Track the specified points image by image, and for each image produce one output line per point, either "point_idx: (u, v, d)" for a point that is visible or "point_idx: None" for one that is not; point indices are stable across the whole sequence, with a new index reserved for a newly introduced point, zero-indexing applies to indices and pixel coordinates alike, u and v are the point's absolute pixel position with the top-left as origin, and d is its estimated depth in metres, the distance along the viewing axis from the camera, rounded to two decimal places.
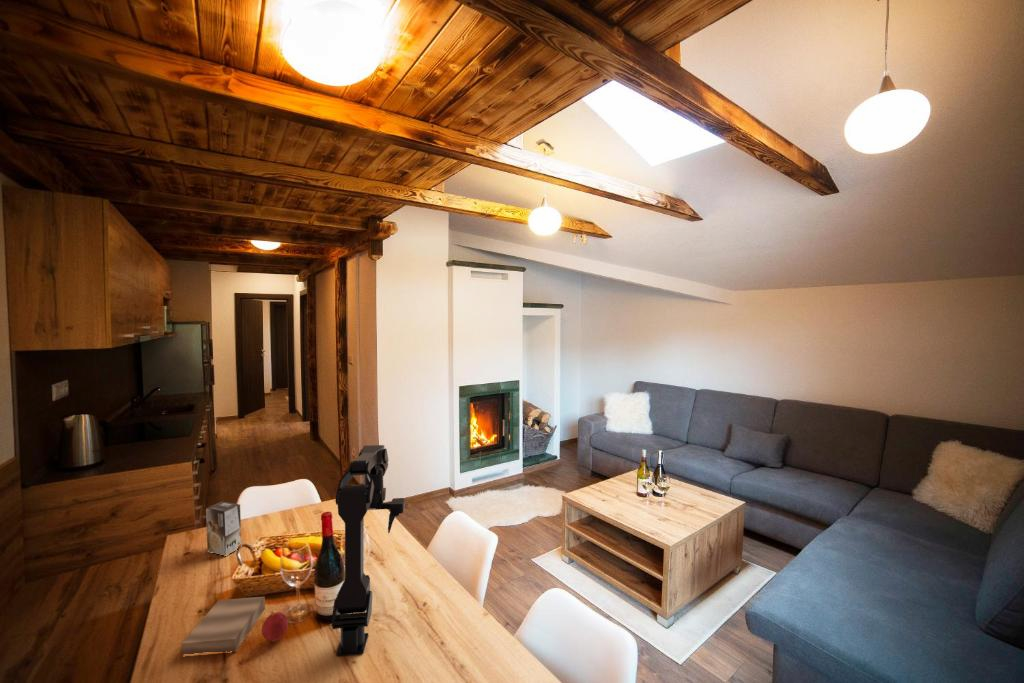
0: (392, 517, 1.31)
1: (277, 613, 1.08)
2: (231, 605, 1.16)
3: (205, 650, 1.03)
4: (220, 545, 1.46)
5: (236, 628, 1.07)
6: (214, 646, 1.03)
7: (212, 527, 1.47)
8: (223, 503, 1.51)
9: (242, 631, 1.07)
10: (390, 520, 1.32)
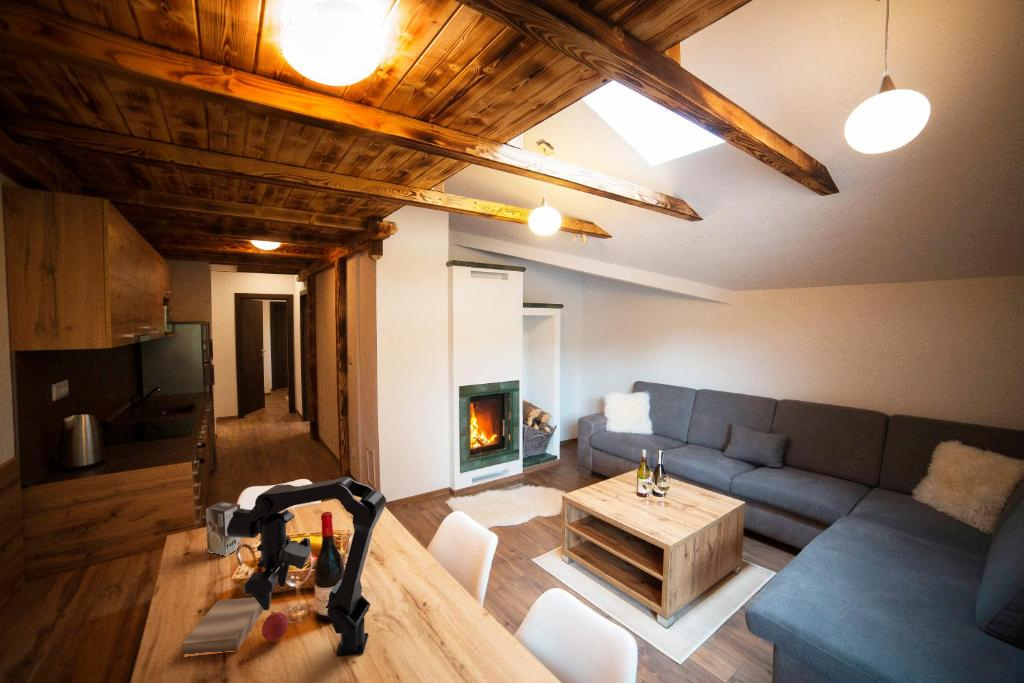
0: None
1: (277, 613, 1.08)
2: (231, 605, 1.16)
3: (206, 650, 1.03)
4: (220, 545, 1.46)
5: (237, 627, 1.07)
6: (215, 645, 1.03)
7: (212, 527, 1.47)
8: (223, 503, 1.51)
9: (243, 630, 1.07)
10: None
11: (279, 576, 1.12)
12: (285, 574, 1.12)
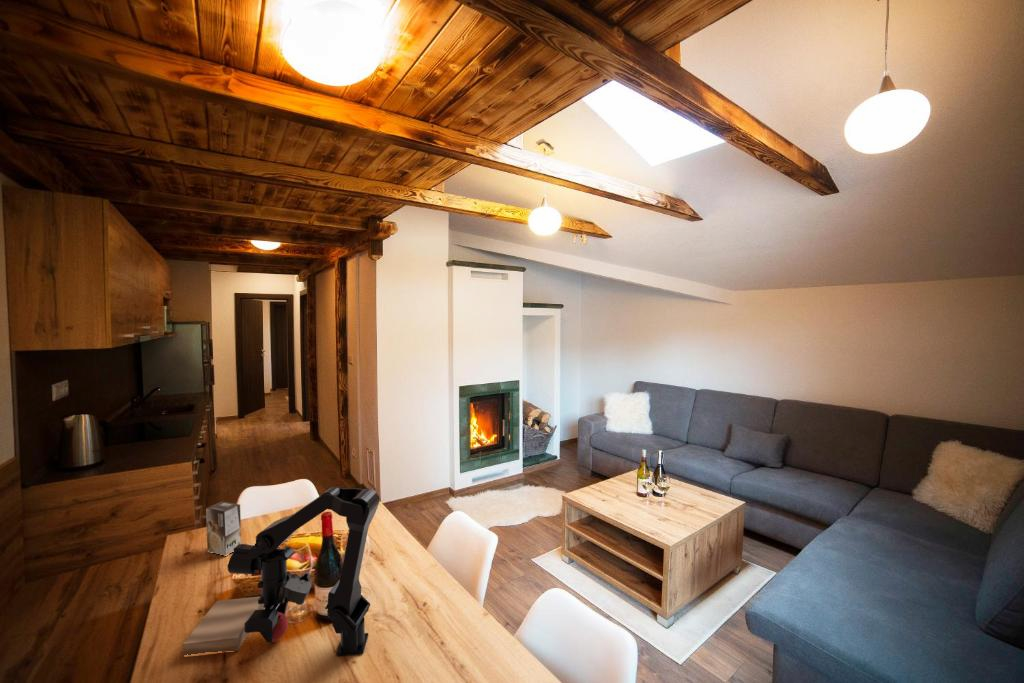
0: None
1: None
2: (230, 605, 1.16)
3: (207, 650, 1.03)
4: (220, 545, 1.46)
5: (237, 627, 1.08)
6: (215, 645, 1.03)
7: (212, 527, 1.47)
8: (223, 503, 1.51)
9: (243, 630, 1.07)
10: None
11: None
12: (283, 612, 1.11)
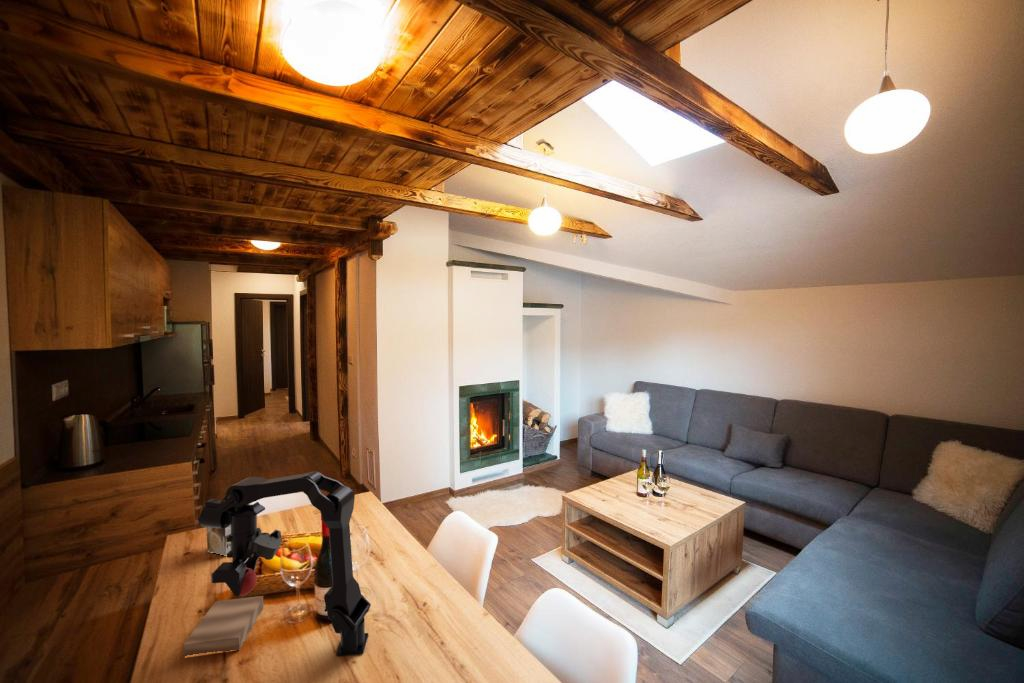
0: None
1: (246, 568, 1.09)
2: (229, 605, 1.16)
3: (208, 650, 1.03)
4: (220, 545, 1.46)
5: (238, 627, 1.08)
6: (217, 645, 1.03)
7: None
8: None
9: (244, 629, 1.08)
10: None
11: None
12: (253, 568, 1.12)
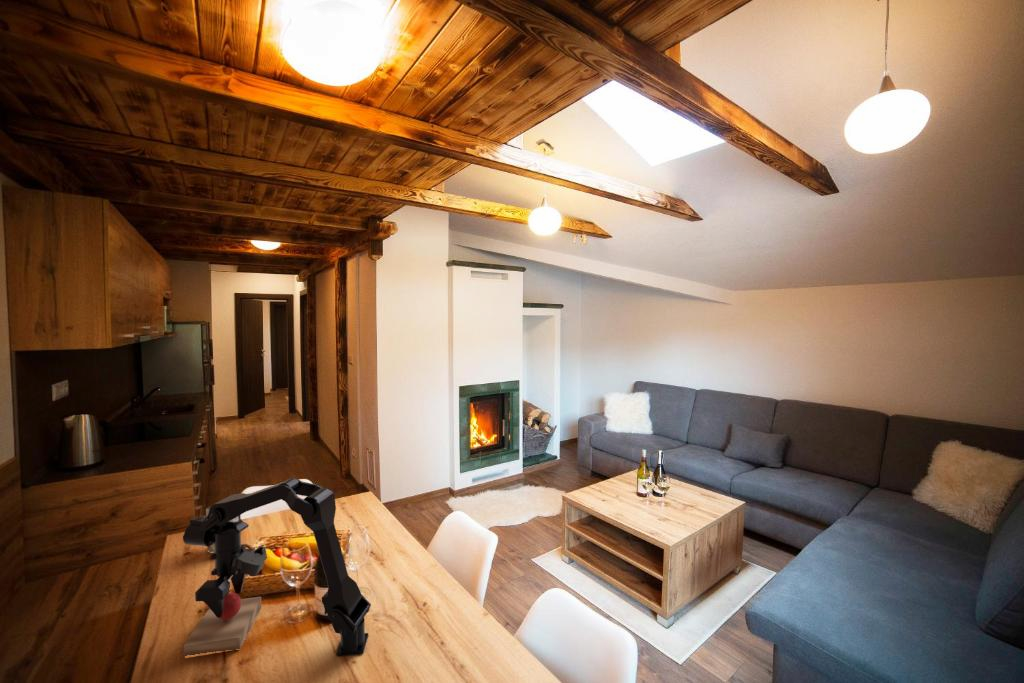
0: None
1: (230, 593, 1.10)
2: None
3: (208, 651, 1.03)
4: None
5: (238, 627, 1.08)
6: (217, 646, 1.03)
7: None
8: None
9: (244, 630, 1.08)
10: None
11: (235, 583, 1.15)
12: (242, 581, 1.15)
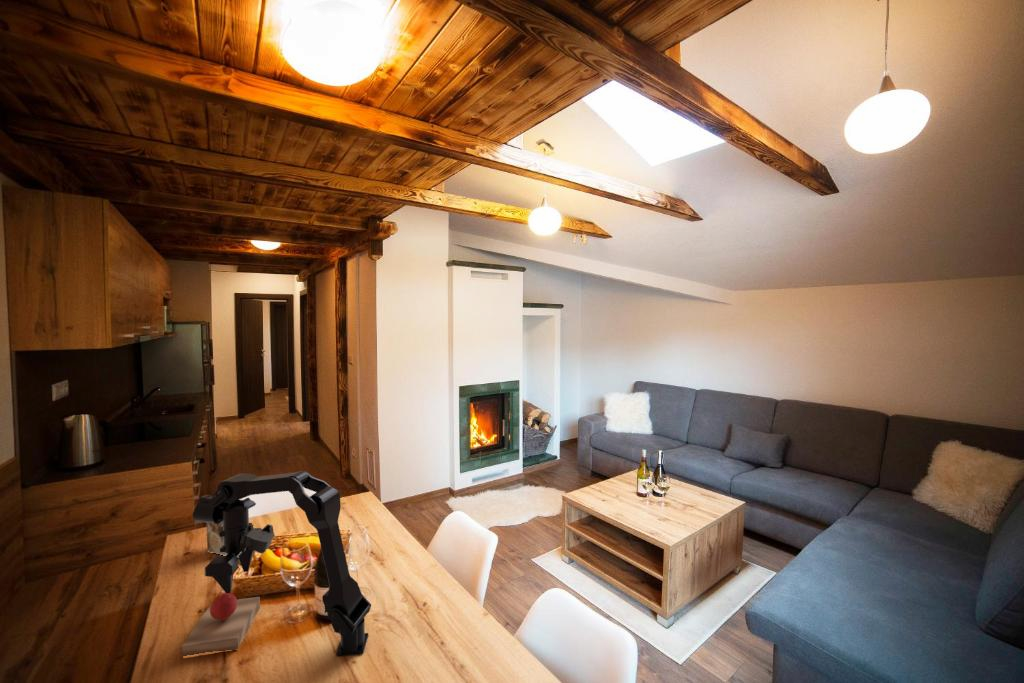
0: None
1: (225, 593, 1.10)
2: None
3: (206, 651, 1.03)
4: (220, 545, 1.46)
5: (236, 627, 1.08)
6: (215, 646, 1.03)
7: (212, 527, 1.47)
8: None
9: (242, 630, 1.08)
10: None
11: (243, 562, 1.16)
12: (249, 560, 1.16)
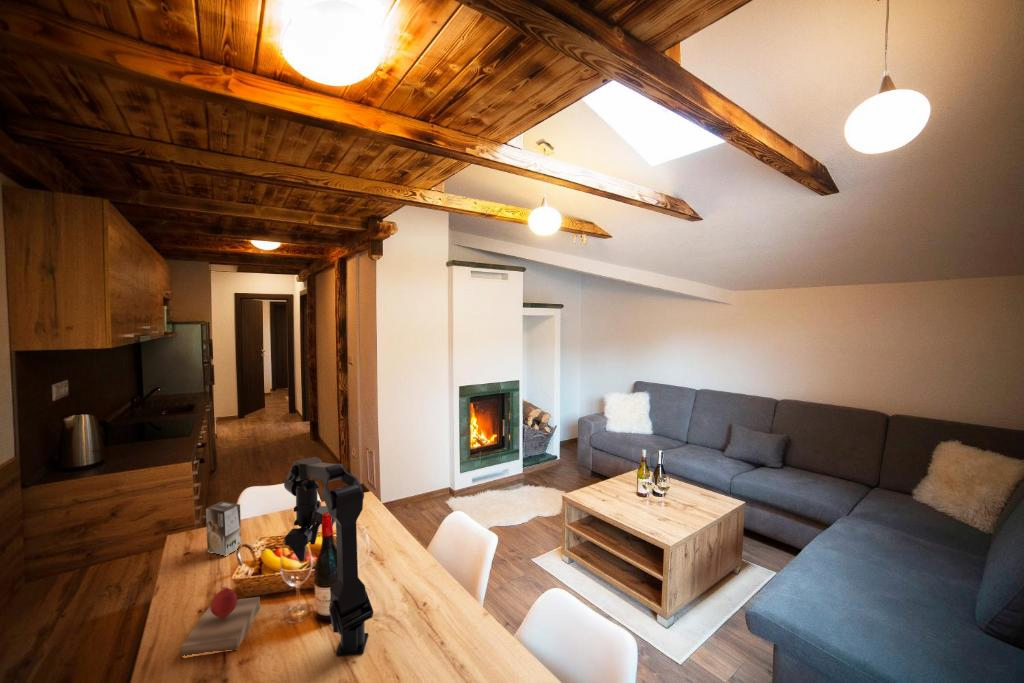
0: None
1: (227, 588, 1.12)
2: None
3: (205, 651, 1.03)
4: (220, 545, 1.46)
5: (236, 628, 1.08)
6: (214, 646, 1.03)
7: (212, 527, 1.47)
8: (223, 503, 1.51)
9: (242, 630, 1.08)
10: None
11: (310, 535, 1.30)
12: (316, 534, 1.30)
